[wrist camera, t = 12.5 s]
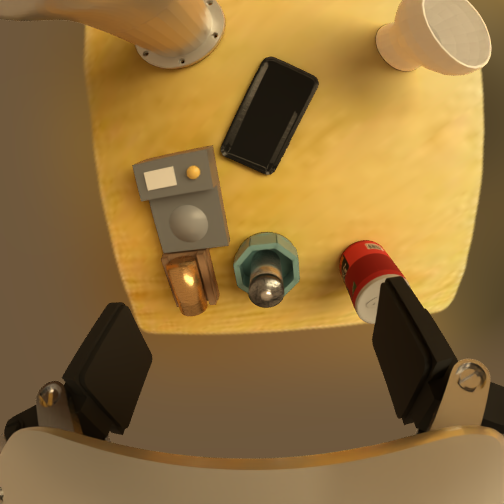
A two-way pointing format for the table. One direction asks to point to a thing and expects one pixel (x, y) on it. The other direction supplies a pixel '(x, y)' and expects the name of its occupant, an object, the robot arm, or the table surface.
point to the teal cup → (271, 243)
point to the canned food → (366, 276)
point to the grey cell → (266, 279)
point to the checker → (184, 199)
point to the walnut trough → (204, 271)
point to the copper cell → (187, 285)
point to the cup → (435, 37)
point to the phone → (269, 115)
